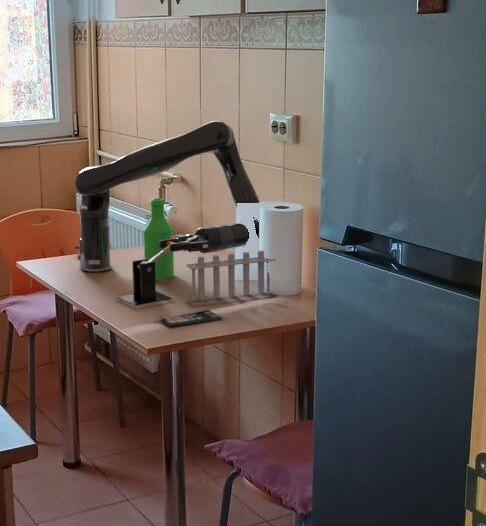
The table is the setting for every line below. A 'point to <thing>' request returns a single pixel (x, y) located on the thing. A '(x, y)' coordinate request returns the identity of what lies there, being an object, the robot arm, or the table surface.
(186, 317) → the smartphone
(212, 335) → the table surface
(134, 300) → the bracket
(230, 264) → the test tube rack
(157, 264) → the bottle
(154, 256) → the lever
